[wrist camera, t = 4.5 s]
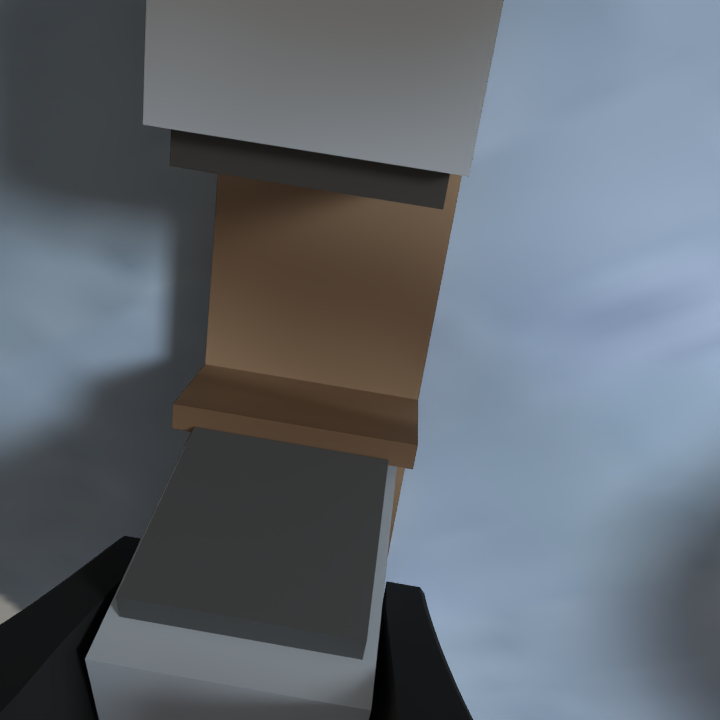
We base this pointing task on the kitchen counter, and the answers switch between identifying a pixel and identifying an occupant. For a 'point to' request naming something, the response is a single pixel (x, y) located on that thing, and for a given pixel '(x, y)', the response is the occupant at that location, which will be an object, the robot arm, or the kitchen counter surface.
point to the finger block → (251, 588)
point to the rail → (321, 202)
